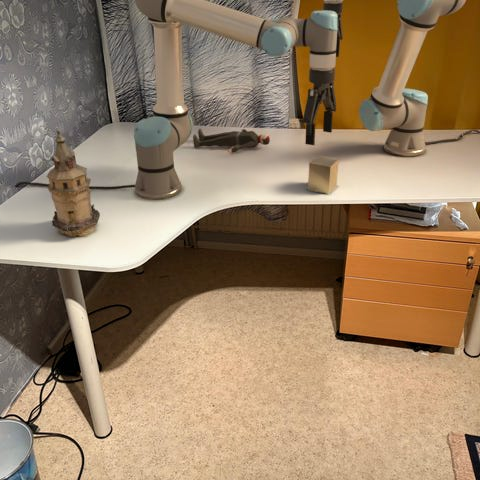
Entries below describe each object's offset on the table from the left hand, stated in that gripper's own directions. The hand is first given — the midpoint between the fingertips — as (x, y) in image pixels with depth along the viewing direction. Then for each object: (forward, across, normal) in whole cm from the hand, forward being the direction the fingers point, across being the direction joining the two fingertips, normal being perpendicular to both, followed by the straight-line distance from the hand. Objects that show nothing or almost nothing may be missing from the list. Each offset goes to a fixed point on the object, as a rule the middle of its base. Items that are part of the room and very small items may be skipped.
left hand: (318, 138), depth 168 cm
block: (+18, -3, +1) cm, 18 cm away
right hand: (-12, -60, -22) cm, 65 cm away
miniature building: (+17, +58, -50) cm, 78 cm away
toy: (+18, -24, -47) cm, 55 cm away
